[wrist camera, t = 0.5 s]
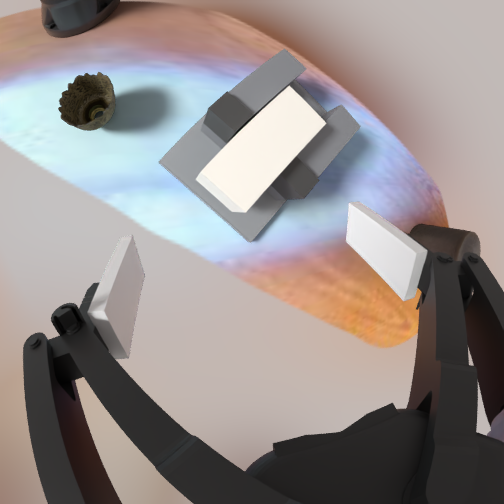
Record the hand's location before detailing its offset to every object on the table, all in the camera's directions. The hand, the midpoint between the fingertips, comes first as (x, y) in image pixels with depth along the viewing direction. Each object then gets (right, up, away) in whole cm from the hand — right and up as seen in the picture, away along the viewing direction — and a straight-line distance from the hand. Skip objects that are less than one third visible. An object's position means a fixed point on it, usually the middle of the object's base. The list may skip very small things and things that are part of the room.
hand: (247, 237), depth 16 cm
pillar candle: (+36, 0, +35) cm, 50 cm away
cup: (-22, +19, +16) cm, 33 cm away
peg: (0, +11, +17) cm, 21 cm away
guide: (+1, +15, +23) cm, 27 cm away
